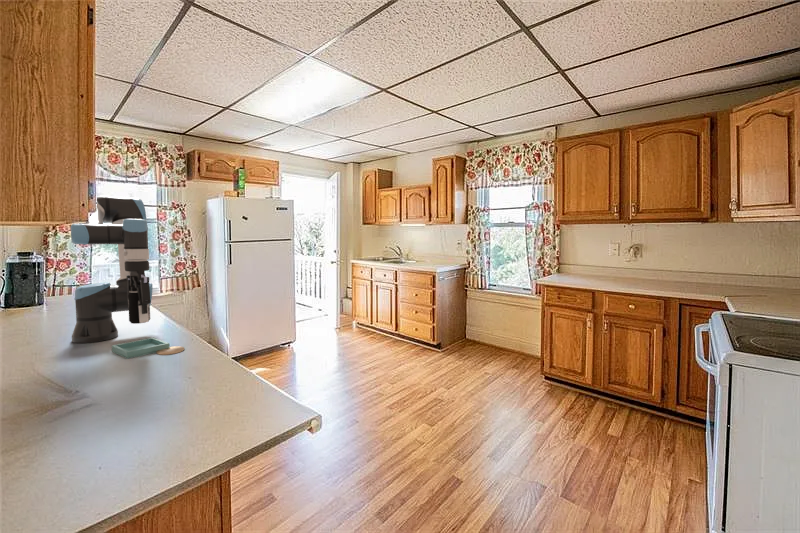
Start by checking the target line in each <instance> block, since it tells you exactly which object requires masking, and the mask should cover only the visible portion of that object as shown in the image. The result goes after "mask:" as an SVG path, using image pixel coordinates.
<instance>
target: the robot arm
mask: <svg viewBox="0 0 800 533" xmlns="http://www.w3.org/2000/svg"><path fill="white" fill-rule="evenodd" d="M96 196H97V212H96V213H94V214H92V215H91V216H90V218H89V221H88V222H86V223H79V222H78V223H72V224H71V226H70V238H71V243H73V245H74V244H75V245H84V246H86V245H117V248H118V250H117V251H118V263H119V278H118V279H117V280H115V282H116V283H115V284H111V283H110V281H105V282H96V283H90V284H85V285H82V286H79V287H77V288H75V291H74V303H75V320H76V323H75V324H74V328H73V331H72V334H71V342H72V343H76V344H87V343H89V344H90V343H97V342H102V341H103V342H104V341H108V340H111V339H115V338H117V337H118V336H119V330H118V328H117V326H116V324H115V322H114V319H113V316H112V314H113V313H115V312H116V313H117V312H118V313H119V312H127V311H128V312H129V308H128V294H129V291H137V292H138V297H139V302H140V304H138V306H139V323H138V324H144V323H143V322H145V323H148V322H149V321H150V320H148V304H149V303H150V306H151V304H152V299H153V298H152V297H153V288H154V287H153V283H152V282H150V277H149V276H146V274H145V272H146V271H149V270H150V261H149V259H150V253H149V252H150V251H149V250H150V249H149V236H148V235H149V234H148V233H149V232H148V230H149V227H148V221H147V212H146V208H145V204H144V202H143V200H142V199H141V198H139V197H131V196H130V197H128V196H126V197H125V196H124V197H123V196H110V195H96ZM104 222H106V223H107V222H108V223H109V222H110V223H111V224H104Z"/></svg>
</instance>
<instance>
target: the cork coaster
mask: <svg viewBox="0 0 800 533" xmlns="http://www.w3.org/2000/svg"><path fill="white" fill-rule="evenodd" d="M183 350H184V351H185V347H184V346H179V345H178V346H170V348H167V349H162V350H158V351H156V352H155V353H156V354H157V355H160V356H168V355H175V354H179V353H182V352H183Z"/></svg>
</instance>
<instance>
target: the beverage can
mask: <svg viewBox="0 0 800 533" xmlns="http://www.w3.org/2000/svg"><path fill="white" fill-rule="evenodd" d="M138 304H140V302H139V297H138V292H137V291H129V294H128V308H129V311H128V321H129V323H130V324H135V325H136V324H137V325H138V324H140V323H139V306H138ZM148 320H149V321H150V320H151V305H150V303H149V304H148ZM145 323H146V322H143V323H142V324H145Z"/></svg>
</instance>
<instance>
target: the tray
mask: <svg viewBox="0 0 800 533" xmlns="http://www.w3.org/2000/svg"><path fill="white" fill-rule="evenodd" d="M170 347H171V346H170V343H169V342H167V341H165V340H162V339H158V338H155V337H148V338H143V339H139V340H133V341H129V342H123V343H118V344H113V345H111V352H112V353H114V354H116V355H118V356H121V357H122V358H125V359H131V358H137V357H141V356H145V355H149V354H150V355H151V354H153V353H156V351H158V350H162V349H167V348H170Z"/></svg>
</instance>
